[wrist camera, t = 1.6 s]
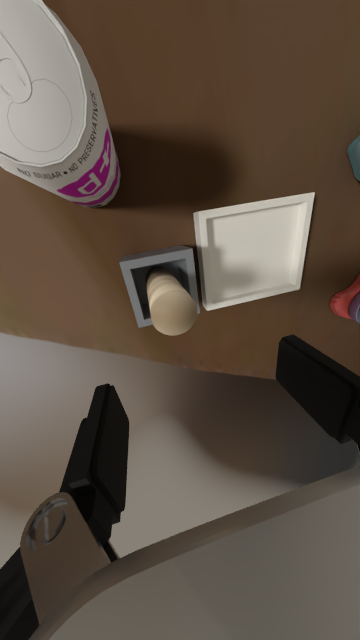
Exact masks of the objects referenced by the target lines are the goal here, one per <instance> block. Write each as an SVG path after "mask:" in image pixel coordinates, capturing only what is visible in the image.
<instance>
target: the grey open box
mask: <svg viewBox="0 0 360 640" xmlns="http://www.w3.org/2000/svg"><path fill="white" fill-rule="evenodd" d="M119 263H120V266H121V270H122V273H123V277H124V280H125V283H126V287H127V290H128V293H129V297H130V300H131V303H132V307H133V310H134V313H135V317H136V320H137V323H138V327H139V328H140V327H144V326H149V325H153V323H152V320H151V314H150V307H149V301H148V295H147V288H146V282H145V278H146V274H147V272H148V271H149V270H150V269H151V268H153V267H156V266H162V267H165V268H167V269H168V270H169V271H170V272H171V273H172V275H173V276H174V277H175V278H176V279H177V281H178V282H179V283H180V284H181V286H182V287H183V288H184V289H185V290H186V292H187V293H188V294H189V295H190V296H191V298H192V299H193V300H194V301H195V303H196V306H197V311H198V313H197V314H200V309H199V301H198V292H197V283H196V274H195V266H194V257H193V248H189V247H186V246H182V245H179V246H173V247H168V248H163V249H157V250H152V251H147V252H141V253H136V254H131V255H125V256H123V257H122V259H121V260H120V262H119Z"/></svg>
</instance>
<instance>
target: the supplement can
mask: <svg viewBox="0 0 360 640" xmlns="http://www.w3.org/2000/svg"><path fill="white" fill-rule="evenodd" d="M0 166H1V167H2V168H3V169H5V170H6V171H8V172H10V173H12V174H15V175H17V176H19V177H21V178H23V179H25V180H27V181H29V182H31V183H33V184H35V185H38V186H40V187H42V188H44V189H46V190H48V191H50V192H52V193H55V194H57V195H59V196H61V197H63V198H65V199H67V200H69V201H72V202H74V203H76V204H78V205H80V206H82V207H89V208H97V207H101V206H104V205H106V204H107V203H108V202H110V201H111V200H112V199H113V198H114V197H115V195H116V193H117V190H118V188H119V184H120V175H121V173H120V168H119V163H118V158H117V154H116V150H115V147H114V143H113V139H112V136H111V132H110V128H109V125H108V121H107V117H106V114H105V110H104V106H103V103H102V99H101V95H100V91H99V88H98V84H97V81H96V79H95V77H94V75H93V72H92V70H91V68H90V66H89V64H88V61H87V59H86V57H85V55H84V52H83V50H82V48H81V46H80V45H79V44H78V42H77V41H76V40H75V38H74V37H73V36H72V34H71V33H70V32H69V30H68V29H67V28H66V26H65V25H64V24H63V22H62V21H61V20H60V18H59V17H58V16H57V14H56V13H55V12H53V11H52V10H51V9H50V8H48V7H47V6H46V5H45V4H44V3H43V2H42V0H0Z"/></svg>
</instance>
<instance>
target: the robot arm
mask: <svg viewBox="0 0 360 640" xmlns="http://www.w3.org/2000/svg"><path fill="white" fill-rule="evenodd" d="M276 379H277V381H278V382H279V383H280V384H281V385H282V386H283V388H284V389H285V390H287V392H288V393H289V394H290V395H291V396H292V397H293V398H294V399H295V400H296V401H297V402H298V403H299V404H300V405H301V406H302V407H303V408H304V410H305V411H306V412H307V413H308V414H309V415H310V416H311V417H312V418H313V419H314V420H315V421H316V422H317V423H318V424H319V425H320V426H321V427H322V428H323V429H324V430H325V431H326V433H328V434H329V435H330V436H331V437H333V438H335V439H336V440H337V441H338V442H339V443H340V444H342V443H345V442H348V441H350V440H351V439H353V440H354V441H355V442H356V443H357V445H358V449H359V453H360V377H359V376H358V375H356V374H355V373H353V372H352V371H350V370H348V369H347V368H345V367H344V366H342V365H341V364H339V363H337V362H336V361H334V360H333V359H331V358H330V357H328V356H326V355H325V354H323V353H322V352H320V351H319V350H317V349H315V348H314V347H312V346H311V345H309V344H308V343H306V342H304V341H303V340H301V339H300V338H298V337H296V336H295V335H290V336H286V337H283V338H282V339H281V341H280V342H279V349H278V358H277V368H276ZM128 439H129V420H128V417H127V415H126V413H125V410H124V408H123V406H122V404H121V401H120V399H119V397H118V394H117V392H116V390H115V387H114V386H113V385H112V386H110V384H105V385H100V386H97V387H96V389H95V392H94V396H93V399H92V403H91V406H90V410H89V413H88V417H87V418H84V419H83V420H82V422H81V424H80V427H79V430H78V434H77V437H76V440H75V443H74V447H73V450H72V453H71V456H70V459H69V463H68V466H67V469H66V473H65V476H64V479H63V482H62V486H61V488H60V491H59V493H56V494H54V495H52V496H50V497H49V498H47V499H46V500H45V501H44V502H43V503H42V504H40V506H39V507H38V508H37V509H36V510H35V511H34V513H33V514H32V516H31V517H30V519H29V520H28V522H27V524H26V526H25V528H24V531H23V533H22V537H21V542H20V547H19V548H18V550H17V551H16V552H15V553H14V554H13V555H12V556H11V558H10V559H9V560H8V561H7V562H6V564H5V565H4V566H3V567H2V568H1V569H0V640H360V466H357V467H355V468H352V469H349V470H347V471H344V472H341V473H338V474H336V475H333V476H330V477H327V478H325V479H322V480H319V481H317V482H314V483H311V484H309V485H306V486H303V487H300V488H298V489H295V490H293V491H290V492H287V493H284V494H282V495H279V496H276V497H274V498H271V499H268V500H266V501H263V502H260V503H258V504H255V505H252V506H250V507H247V508H244V509H242V510H239V511H236V512H234V513H231V514H228V515H226V516H223V517H221V518H218V519H215V520H213V521H210V522H207V523H205V524H202V525H199V526H197V527H194V528H192V529H189V530H187V531H184V532H181V533H179V534H176V535H174V536H171V537H169V538H166V539H164V540H161V541H159V542H157V543H154V544H151V545H149V546H147V547H144V548H142V549H139V550H137V551H135V552H133V553H130V554H128V555H126V556H124V557H122V558H120V557H119V556H118V554H117V553H116V551H115V549H114V547H113V546H112V544H111V542H110V541H109V538H110V537H111V529H112V524H115V523H118V522H120V514H121V512H122V511H124V509H125V499H126V480H127V460H128Z"/></svg>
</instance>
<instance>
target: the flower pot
mask: <svg viewBox="0 0 360 640" xmlns="http://www.w3.org/2000/svg"><path fill="white" fill-rule="evenodd" d="M347 153H348V157H349V160H350V163H351V166H352V169H353V173H354V177H355V178H356V179H357V180H358V181H360V135H359V136H358V137H357V138H356V139H355V140H354V141H353V142H352V143H351V144H350V145H349V147H348V148H347Z"/></svg>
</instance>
